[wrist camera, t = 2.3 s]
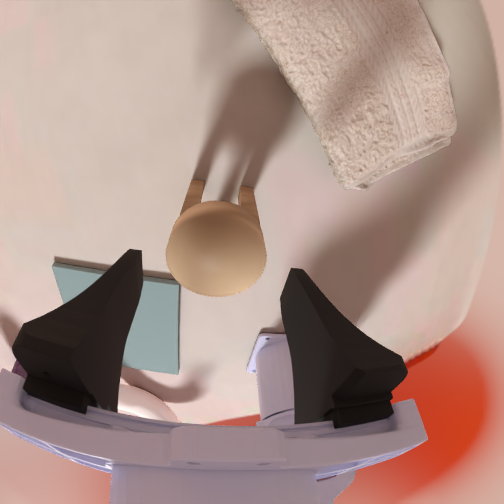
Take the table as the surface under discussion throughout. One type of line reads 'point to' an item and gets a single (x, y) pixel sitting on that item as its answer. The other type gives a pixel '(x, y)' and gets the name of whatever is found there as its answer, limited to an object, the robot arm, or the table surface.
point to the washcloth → (361, 79)
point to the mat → (137, 318)
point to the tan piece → (216, 244)
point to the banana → (144, 404)
